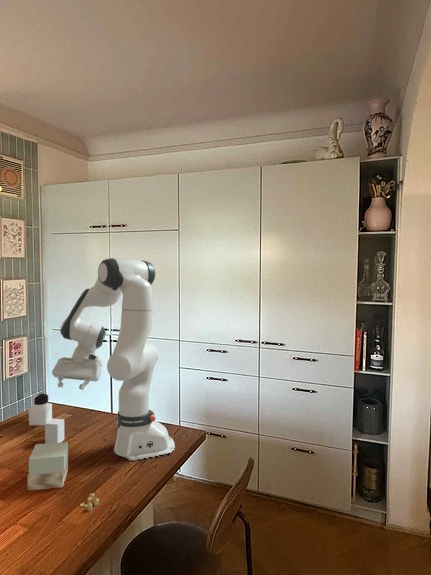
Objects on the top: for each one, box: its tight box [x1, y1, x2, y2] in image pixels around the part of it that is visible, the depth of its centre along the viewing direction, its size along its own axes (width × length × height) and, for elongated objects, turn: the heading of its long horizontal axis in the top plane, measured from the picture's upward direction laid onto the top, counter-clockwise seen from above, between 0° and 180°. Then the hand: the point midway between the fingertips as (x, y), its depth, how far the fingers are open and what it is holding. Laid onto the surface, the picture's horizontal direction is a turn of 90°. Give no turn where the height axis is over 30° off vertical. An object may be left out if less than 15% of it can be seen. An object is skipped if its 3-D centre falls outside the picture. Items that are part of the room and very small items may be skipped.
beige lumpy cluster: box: [79, 492, 100, 512], centre depth 114 cm, size 5×5×2 cm
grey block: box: [44, 418, 65, 444], centre depth 152 cm, size 5×5×8 cm
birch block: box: [27, 458, 69, 491], centre depth 126 cm, size 10×10×5 cm
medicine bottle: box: [28, 393, 53, 426], centre depth 170 cm, size 7×7×12 cm
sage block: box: [28, 441, 69, 475], centre depth 125 cm, size 10×10×5 cm
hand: (70, 388), depth 163 cm, fingers open, 8 cm apart
